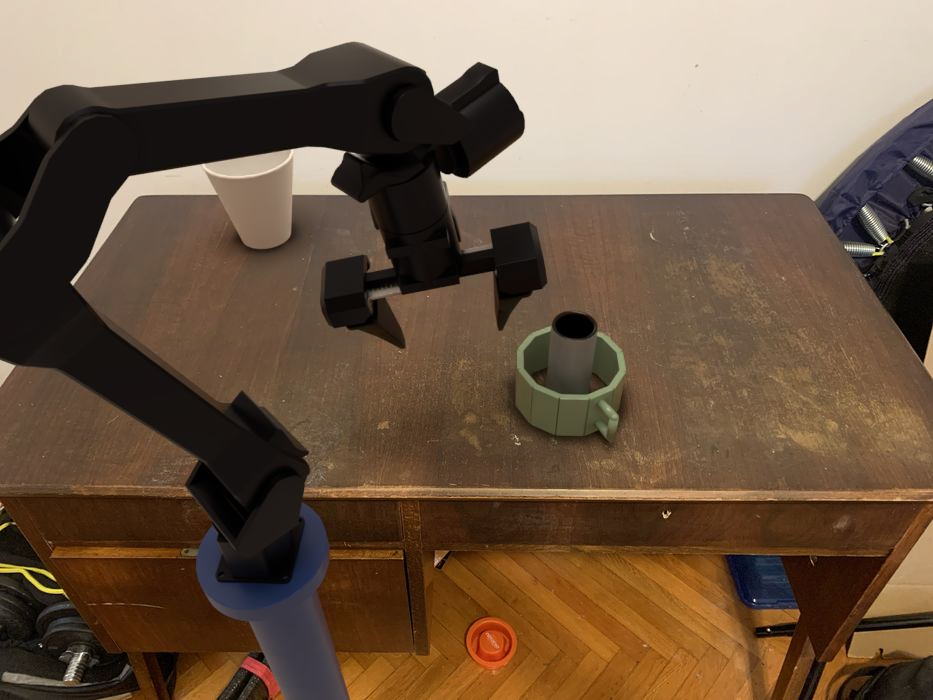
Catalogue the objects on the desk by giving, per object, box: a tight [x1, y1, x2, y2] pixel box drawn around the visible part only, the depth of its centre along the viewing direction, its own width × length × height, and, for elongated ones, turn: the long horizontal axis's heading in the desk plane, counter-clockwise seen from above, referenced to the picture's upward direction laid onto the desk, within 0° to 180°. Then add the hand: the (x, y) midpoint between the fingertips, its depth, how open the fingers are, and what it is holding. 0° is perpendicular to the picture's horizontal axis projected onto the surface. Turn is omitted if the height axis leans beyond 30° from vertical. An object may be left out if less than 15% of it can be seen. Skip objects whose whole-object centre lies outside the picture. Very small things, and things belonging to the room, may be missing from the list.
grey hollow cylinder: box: [545, 310, 599, 395], centre depth 74 cm, size 4×4×10 cm
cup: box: [200, 149, 295, 250], centre depth 97 cm, size 12×12×12 cm
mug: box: [514, 325, 627, 442], centre depth 75 cm, size 14×11×6 cm
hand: (451, 336), depth 67 cm, fingers open, 9 cm apart
